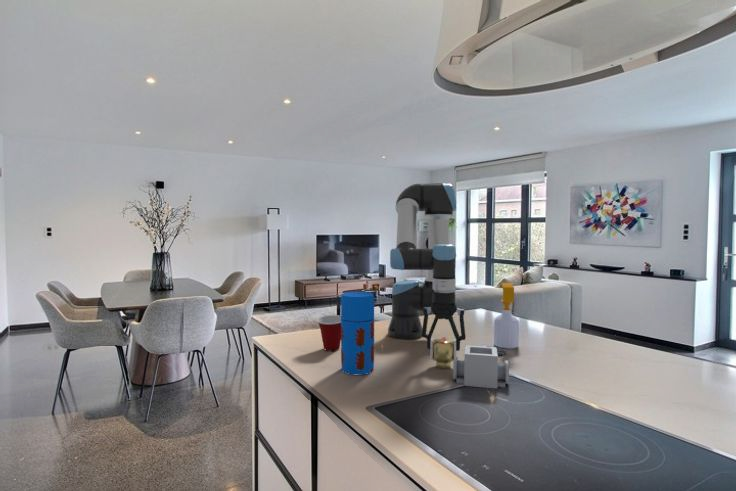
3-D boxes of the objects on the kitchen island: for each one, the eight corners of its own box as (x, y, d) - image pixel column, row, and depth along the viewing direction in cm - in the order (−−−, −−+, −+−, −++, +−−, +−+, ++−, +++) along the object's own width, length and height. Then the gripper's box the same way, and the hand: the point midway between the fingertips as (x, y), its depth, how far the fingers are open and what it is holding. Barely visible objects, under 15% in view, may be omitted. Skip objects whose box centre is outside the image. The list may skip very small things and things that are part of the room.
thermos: (379, 367, 144) (379, 292, 143) (365, 377, 135) (365, 297, 133) (350, 362, 149) (350, 290, 148) (335, 372, 139) (334, 295, 138)
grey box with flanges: (452, 384, 129) (453, 353, 128) (454, 373, 138) (454, 344, 137) (509, 389, 125) (509, 357, 124) (507, 378, 134) (507, 348, 133)
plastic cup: (311, 351, 162) (311, 319, 162) (325, 344, 172) (325, 314, 172) (337, 354, 158) (337, 322, 157) (350, 346, 168) (350, 316, 167)
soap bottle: (515, 342, 174) (516, 282, 172) (520, 349, 164) (522, 285, 163) (492, 342, 174) (493, 281, 173) (496, 348, 165) (497, 284, 164)
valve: (453, 370, 141) (453, 343, 140) (431, 369, 142) (431, 341, 142) (454, 364, 147) (454, 337, 147) (433, 362, 149) (434, 336, 149)
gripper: (412, 291, 142) (412, 360, 144) (474, 294, 137) (473, 365, 139) (415, 288, 150) (415, 353, 151) (474, 290, 145) (474, 358, 146)
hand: (443, 359), depth 145 cm, fingers closed on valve, 7 cm apart
